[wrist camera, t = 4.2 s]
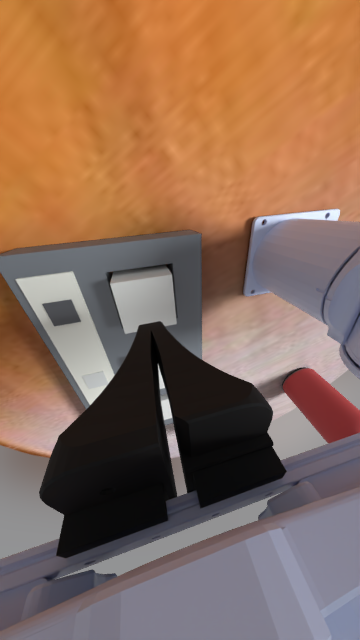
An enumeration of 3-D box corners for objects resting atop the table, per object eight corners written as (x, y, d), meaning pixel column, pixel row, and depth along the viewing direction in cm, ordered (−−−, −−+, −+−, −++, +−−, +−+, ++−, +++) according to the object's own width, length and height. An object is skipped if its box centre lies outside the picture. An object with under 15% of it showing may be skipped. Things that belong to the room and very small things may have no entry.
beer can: (314, 376, 35) (386, 442, 26) (285, 394, 36) (343, 464, 27) (308, 360, 32) (389, 429, 22) (276, 380, 33) (340, 455, 23)
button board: (190, 229, 16) (202, 234, 13) (196, 397, 30) (202, 416, 27) (16, 248, 14) (-12, 258, 11) (108, 420, 27) (106, 444, 25)
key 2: (177, 376, 25) (182, 395, 23) (179, 395, 27) (184, 414, 25) (145, 384, 24) (147, 404, 22) (150, 403, 27) (153, 423, 24)
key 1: (165, 264, 16) (171, 274, 13) (170, 308, 18) (176, 324, 16) (113, 271, 15) (109, 283, 12) (125, 315, 17) (125, 334, 15)
